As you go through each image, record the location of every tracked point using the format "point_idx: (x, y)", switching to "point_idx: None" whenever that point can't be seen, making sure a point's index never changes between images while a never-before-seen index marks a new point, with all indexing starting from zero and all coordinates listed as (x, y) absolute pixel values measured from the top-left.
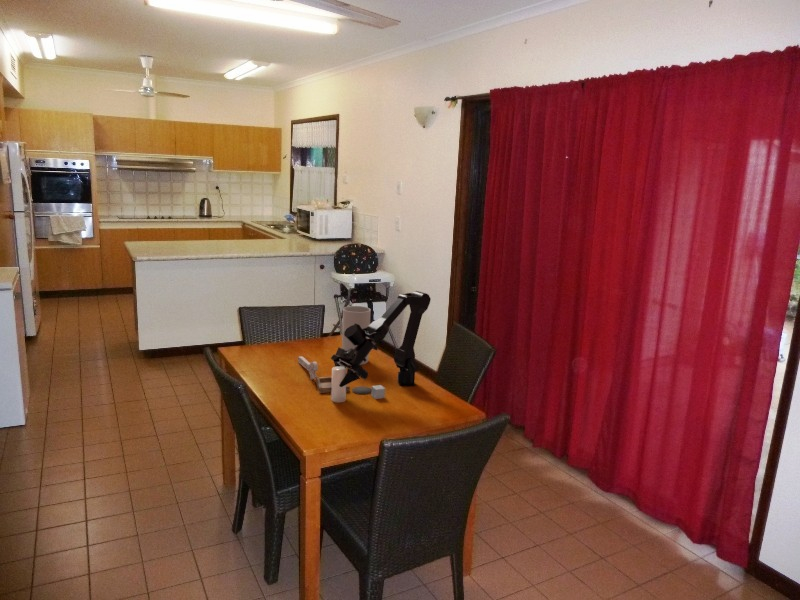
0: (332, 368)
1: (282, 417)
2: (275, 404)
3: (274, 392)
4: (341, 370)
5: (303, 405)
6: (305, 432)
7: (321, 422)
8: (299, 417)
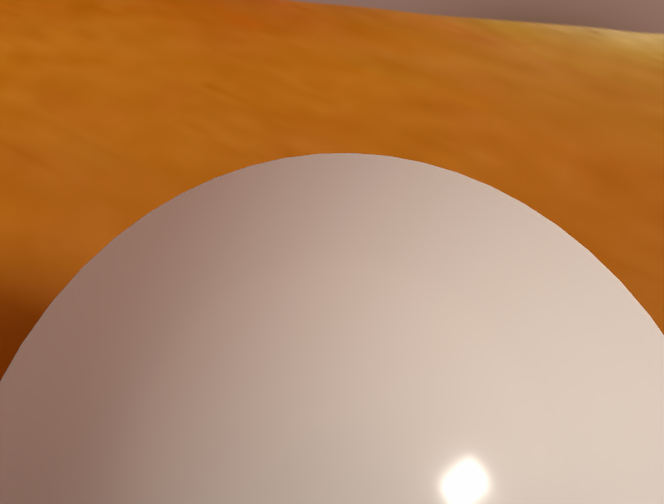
0: (507, 212)
1: (256, 7)
2: (445, 42)
3: (646, 101)
4: (89, 412)
5: (354, 146)
6: (11, 12)
7: (38, 116)
8: (198, 60)
